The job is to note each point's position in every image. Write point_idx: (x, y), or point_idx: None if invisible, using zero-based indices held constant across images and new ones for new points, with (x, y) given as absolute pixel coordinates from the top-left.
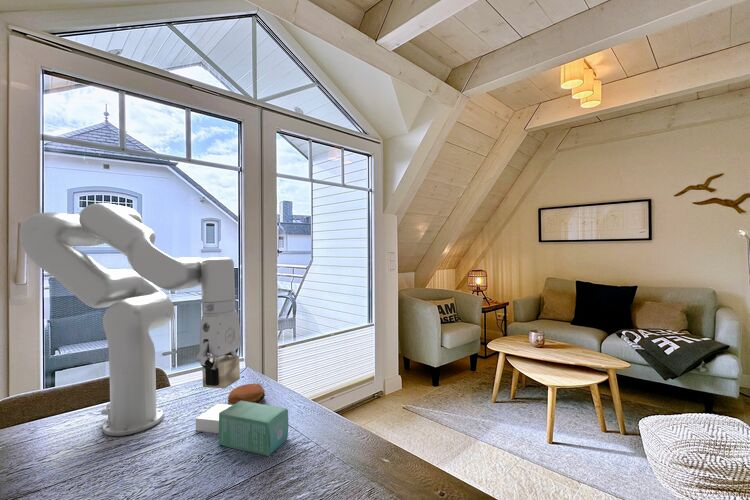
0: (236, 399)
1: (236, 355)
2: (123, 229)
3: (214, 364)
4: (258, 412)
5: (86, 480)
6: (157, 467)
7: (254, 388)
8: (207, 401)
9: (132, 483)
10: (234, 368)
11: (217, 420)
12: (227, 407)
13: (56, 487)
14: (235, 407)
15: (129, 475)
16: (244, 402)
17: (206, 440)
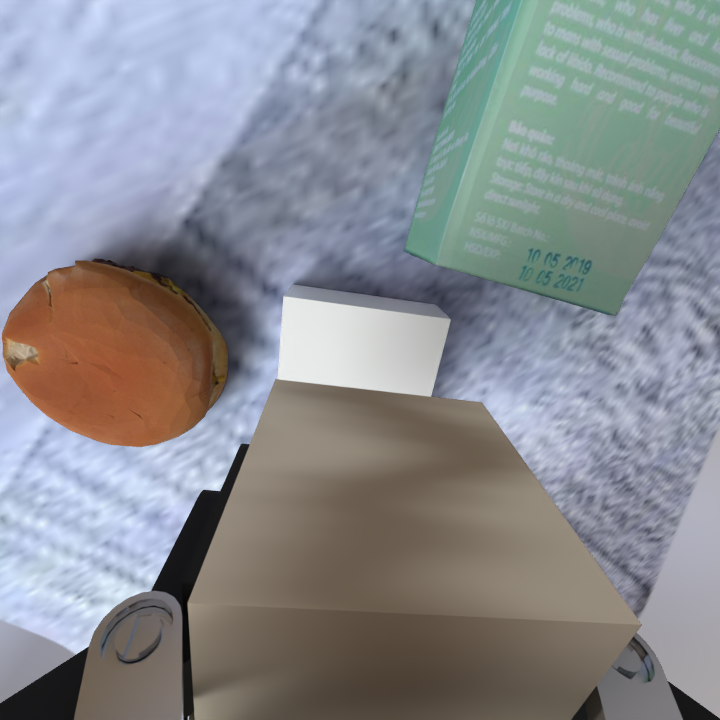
0: (210, 379)
1: (101, 642)
2: None
3: (657, 697)
4: (680, 2)
5: (633, 531)
6: (618, 412)
7: (91, 325)
8: (176, 506)
9: (681, 427)
10: (350, 471)
11: (440, 357)
12: (308, 377)
13: (644, 564)
14: (561, 245)
15: (639, 457)
16: (478, 219)
17: (477, 352)
